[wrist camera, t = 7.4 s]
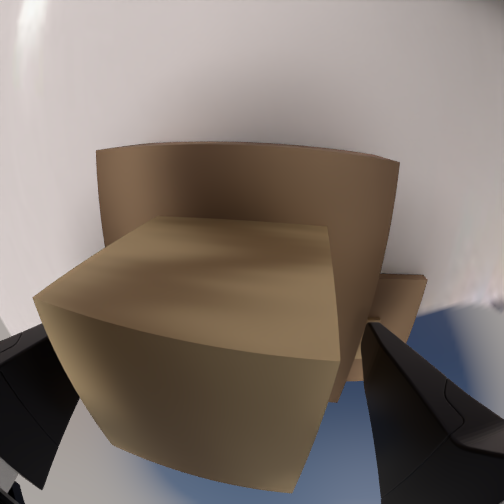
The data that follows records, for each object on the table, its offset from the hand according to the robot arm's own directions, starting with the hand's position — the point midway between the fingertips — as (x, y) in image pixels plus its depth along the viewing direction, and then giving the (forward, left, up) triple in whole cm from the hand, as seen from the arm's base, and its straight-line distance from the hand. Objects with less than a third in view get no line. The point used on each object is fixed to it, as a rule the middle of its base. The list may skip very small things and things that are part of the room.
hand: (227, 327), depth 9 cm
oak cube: (0, 0, -2) cm, 2 cm away
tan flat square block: (0, 0, -6) cm, 6 cm away
